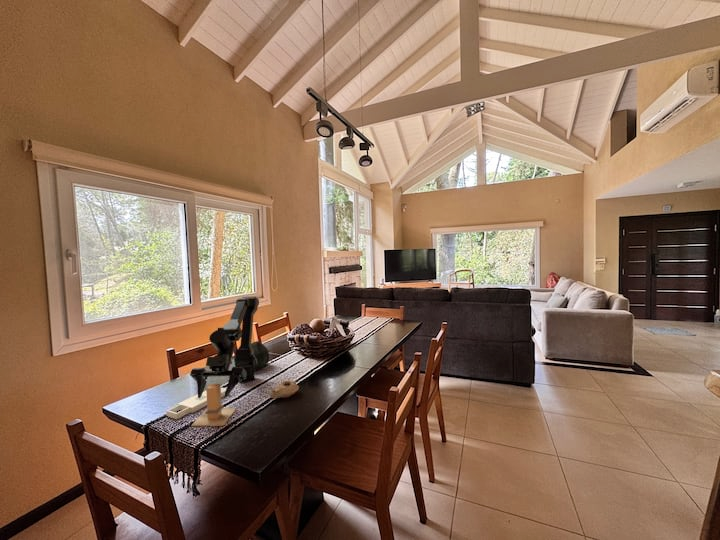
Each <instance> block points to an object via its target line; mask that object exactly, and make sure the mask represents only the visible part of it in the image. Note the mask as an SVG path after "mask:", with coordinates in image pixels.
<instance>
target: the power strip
mask: <svg viewBox="0 0 720 540" xmlns="http://www.w3.org/2000/svg"><path fill="white" fill-rule="evenodd" d="M226 388H227V387H221V399H222V398H223V397H224V398H225V392H226ZM205 407H207V391H206V390H204V391H203V393H202V396H201V397H200V398H198V393H197V394H195V395H193V396H191V397H189V398H187V399H185V400H183V401H180V402H179V403H177V405H176V406H173V407H171V408H169V409H167V410H166V411H165V412H166V417H167V416H168V418H170V419H171V418H172V419H174V420H179V419H180V418H182V417H184V416H186V415H188V414H193V413H196V412H197V411H200V410H201V409H203V408H205ZM179 410H180V411H179ZM177 411H178V412H177Z"/></svg>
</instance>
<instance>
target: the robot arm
mask: <svg viewBox="0 0 720 540" xmlns="http://www.w3.org/2000/svg"><path fill="white" fill-rule="evenodd" d="M235 304H236V305H235V307H234V309H233V311H232V314H231V316H230V317H229V321H227V322H226V323H224V325H223V327H217V330H214V331H213V332H212V333H211V334H210V335H209V341H210V343H211V344H212V345H213V347H214V348H215V350H217V353H216V354H215V355H214V356H207V357H206V363H205V366H206V367H208V368H209V370H206V369H205V368H204V367H194V368H192V369H191V371H190V374H189V376H190V377H191V378H192V379H193V380H194V381H196V385H197V394H198V398H200V397H201V396H202V393H203V392H204V391H205V387H206V385H207V381H206V380H207V379H208V378H209V377H212V378H213V377H228V381H227V382H228V383H227V386H226V387H225V388H226V392H225V396H224V398H227V397H228V396H229V395H230V393H231V392H232V391H233V390H234V388H235V387H236V386H237V385H238V384H243V383H242V382H244V383H249V382H253V380H254V381H256V378H255V369H254V367H257V359H256V357H255V355H254V350H253V348H252V346H251V343H252V338H253V326H254V315H255V314H256V313H257V312H258V309H259V308H258V306H259V305H260V300H259V298H257V296H241V297H238V298H237V299H236V302H235ZM238 341H240V346H238V348H237V349H236V345H235V343H234V342H238ZM234 352H235V355H234V360H233V361H234V362H233V361H232V359H233V354H234ZM233 363H234V366H233V367H232V368H231V370H229V369H230V367H231V365H232V364H233ZM248 381H249V382H248Z"/></svg>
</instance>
